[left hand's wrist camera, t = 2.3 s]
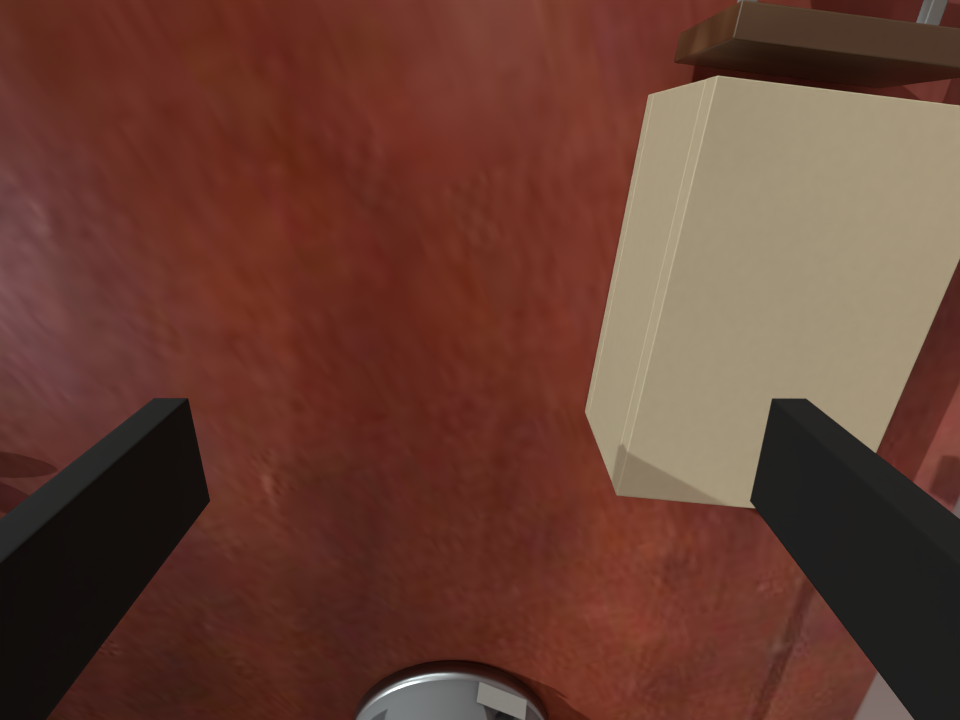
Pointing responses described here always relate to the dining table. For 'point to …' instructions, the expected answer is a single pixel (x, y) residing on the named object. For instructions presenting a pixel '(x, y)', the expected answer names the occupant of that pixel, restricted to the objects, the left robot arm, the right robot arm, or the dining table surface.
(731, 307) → the cream rectangular box
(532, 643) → the dining table surface
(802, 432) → the left robot arm
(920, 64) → the drawer
